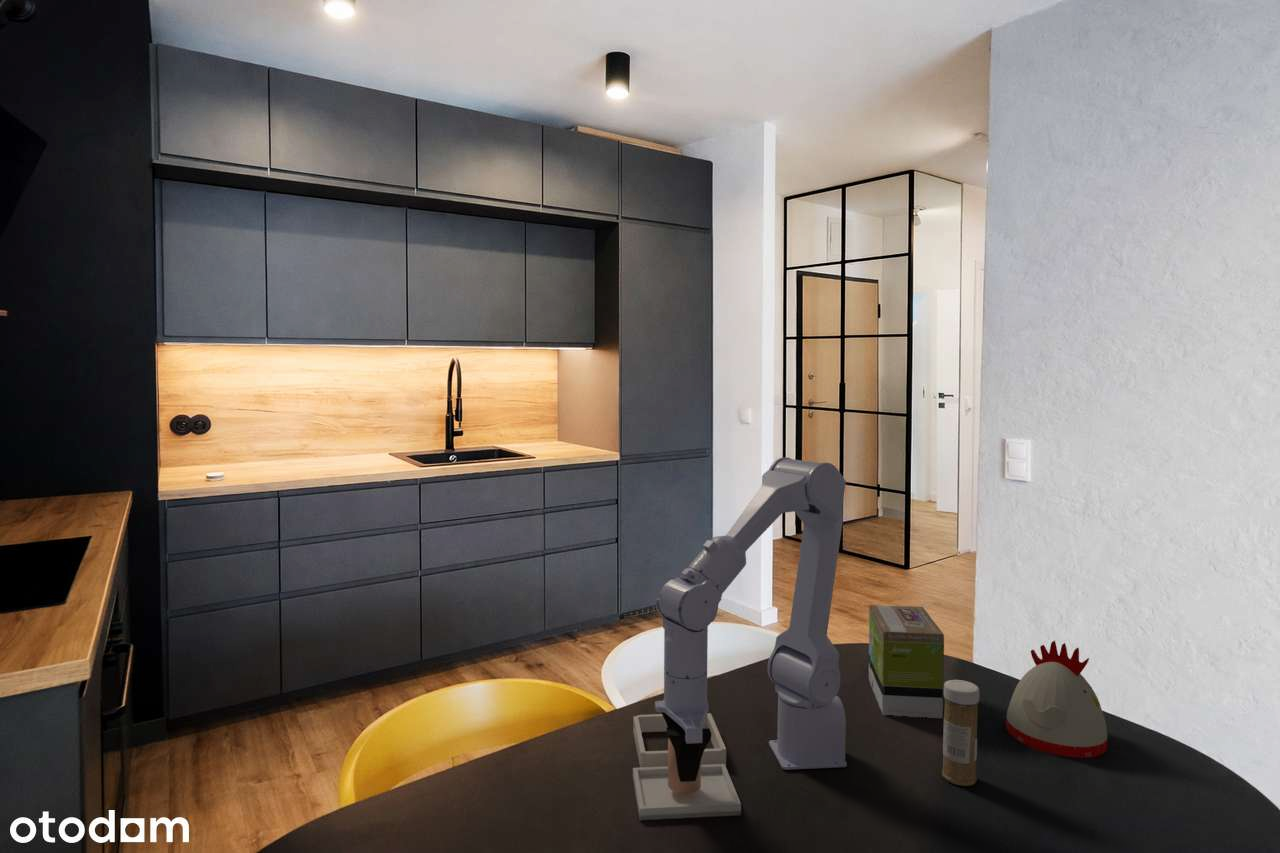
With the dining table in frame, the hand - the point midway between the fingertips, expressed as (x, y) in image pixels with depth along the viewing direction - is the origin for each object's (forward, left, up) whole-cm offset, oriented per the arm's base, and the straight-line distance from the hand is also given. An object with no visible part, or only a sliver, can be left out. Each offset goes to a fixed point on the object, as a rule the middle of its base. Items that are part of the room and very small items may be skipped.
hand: (684, 770), depth 99 cm
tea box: (-43, -27, -4) cm, 51 cm away
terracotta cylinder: (0, 0, -2) cm, 2 cm away
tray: (0, 0, -3) cm, 3 cm away
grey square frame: (-1, -13, -3) cm, 14 cm away
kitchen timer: (-61, -12, -4) cm, 62 cm away
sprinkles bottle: (-39, -1, -4) cm, 39 cm away
